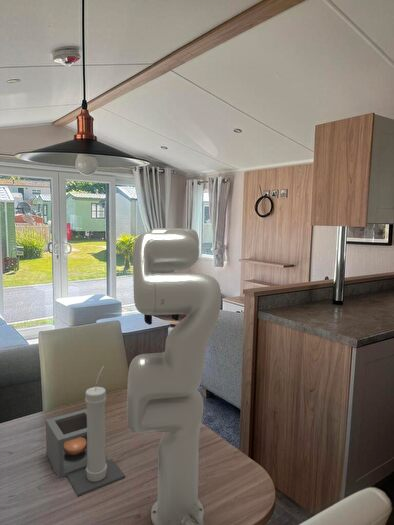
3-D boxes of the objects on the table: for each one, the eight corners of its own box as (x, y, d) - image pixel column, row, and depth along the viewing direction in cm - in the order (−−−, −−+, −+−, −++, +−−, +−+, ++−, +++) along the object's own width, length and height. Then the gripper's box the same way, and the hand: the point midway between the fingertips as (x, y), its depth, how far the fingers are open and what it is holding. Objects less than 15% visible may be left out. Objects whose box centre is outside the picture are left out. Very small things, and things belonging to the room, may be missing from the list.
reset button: (89, 454, 112) (89, 444, 112) (67, 462, 108) (67, 452, 108) (82, 443, 117) (82, 434, 117) (60, 450, 113) (60, 441, 113)
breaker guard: (104, 462, 111) (104, 426, 110) (59, 478, 104) (58, 440, 103) (89, 441, 122) (88, 408, 121) (46, 454, 114) (45, 419, 113)
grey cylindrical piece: (81, 478, 103) (79, 371, 100) (97, 465, 109) (96, 363, 106) (97, 485, 101) (96, 375, 97) (112, 471, 106) (112, 367, 103)
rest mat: (125, 477, 105) (125, 475, 105) (77, 496, 97) (77, 494, 97) (112, 460, 112) (112, 458, 112) (67, 477, 105) (67, 475, 104)
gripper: (143, 271, 112) (143, 328, 114) (192, 267, 122) (191, 320, 124) (131, 268, 118) (131, 322, 120) (179, 265, 128) (178, 315, 130)
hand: (161, 321), depth 122 cm, fingers open, 9 cm apart
